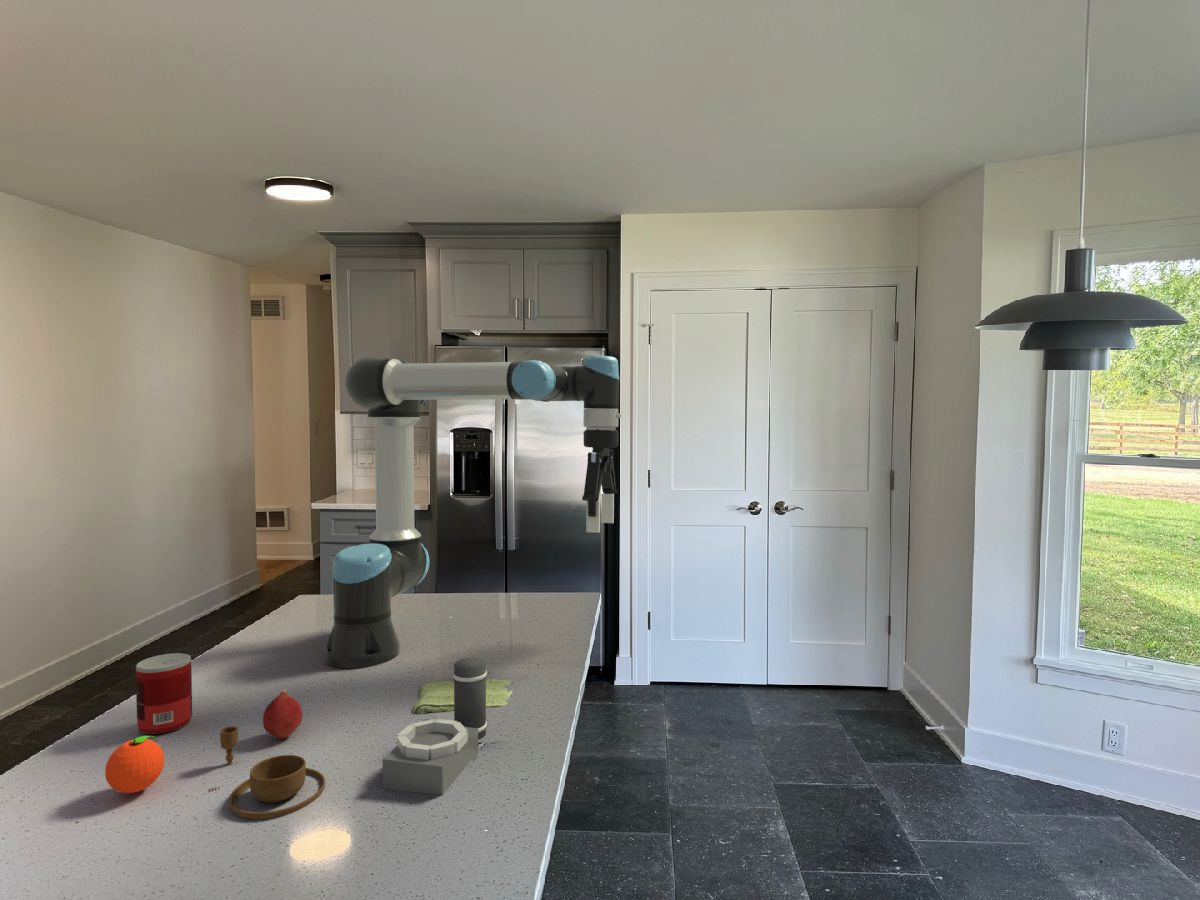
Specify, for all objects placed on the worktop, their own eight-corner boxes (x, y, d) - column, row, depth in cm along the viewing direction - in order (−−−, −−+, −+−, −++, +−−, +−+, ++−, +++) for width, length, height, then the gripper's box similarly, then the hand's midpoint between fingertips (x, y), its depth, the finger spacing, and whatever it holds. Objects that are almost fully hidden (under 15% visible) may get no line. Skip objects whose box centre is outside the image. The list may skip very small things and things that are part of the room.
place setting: (197, 840, 86) (196, 794, 86) (216, 766, 105) (215, 728, 104) (347, 810, 93) (346, 767, 93) (339, 745, 111) (339, 709, 111)
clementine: (134, 772, 101) (133, 725, 101) (180, 773, 101) (179, 726, 101) (92, 802, 93) (91, 751, 93) (143, 804, 93) (141, 752, 93)
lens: (448, 748, 109) (447, 667, 109) (462, 734, 114) (461, 656, 114) (478, 752, 108) (478, 670, 107) (491, 737, 113) (491, 659, 113)
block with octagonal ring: (444, 803, 94) (443, 756, 94) (381, 794, 96) (381, 748, 96) (479, 760, 105) (479, 719, 105) (422, 753, 108) (422, 713, 107)
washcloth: (515, 719, 121) (515, 701, 121) (411, 725, 119) (411, 706, 119) (514, 690, 134) (514, 674, 134) (421, 695, 132) (420, 678, 132)
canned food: (202, 718, 120) (201, 655, 119) (160, 738, 112) (158, 671, 112) (170, 711, 122) (168, 650, 122) (126, 731, 115) (124, 665, 114)
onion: (263, 750, 108) (262, 700, 108) (262, 735, 113) (261, 687, 113) (304, 742, 111) (303, 693, 111) (301, 728, 116) (300, 681, 116)
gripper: (605, 429, 136) (604, 537, 136) (629, 428, 160) (628, 519, 161) (568, 429, 137) (568, 535, 138) (597, 428, 162) (597, 518, 162)
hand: (600, 527), depth 149 cm, fingers open, 13 cm apart
